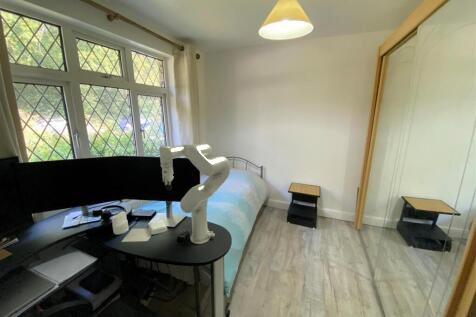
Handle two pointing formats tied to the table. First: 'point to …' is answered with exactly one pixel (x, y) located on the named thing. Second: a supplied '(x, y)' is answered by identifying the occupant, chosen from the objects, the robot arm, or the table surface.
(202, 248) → the table surface
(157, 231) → the photo printer
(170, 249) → the table surface
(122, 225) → the base with upright slab
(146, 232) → the felt mat
